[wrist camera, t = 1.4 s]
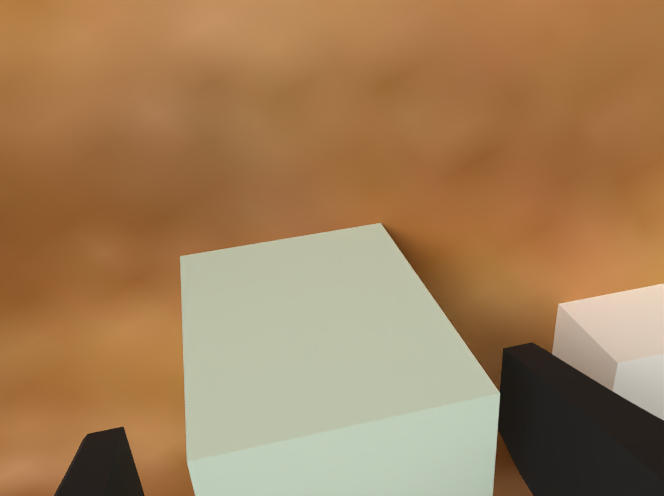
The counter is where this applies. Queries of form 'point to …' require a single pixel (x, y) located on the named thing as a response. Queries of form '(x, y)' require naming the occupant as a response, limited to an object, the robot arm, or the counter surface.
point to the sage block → (329, 374)
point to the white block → (617, 343)
